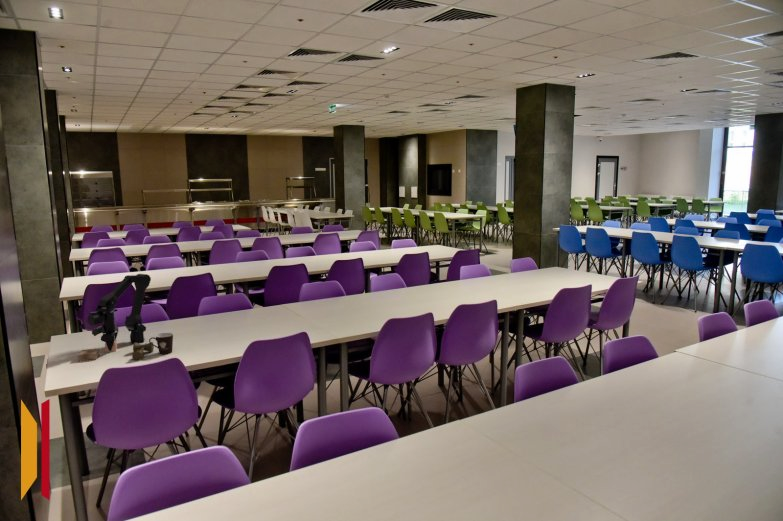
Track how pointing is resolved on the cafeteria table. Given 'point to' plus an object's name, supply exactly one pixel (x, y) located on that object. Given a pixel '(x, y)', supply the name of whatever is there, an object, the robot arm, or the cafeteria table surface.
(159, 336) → the coffee mug
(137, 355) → the kendama
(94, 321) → the robot arm
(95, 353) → the walnut box
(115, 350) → the terracotta cube
